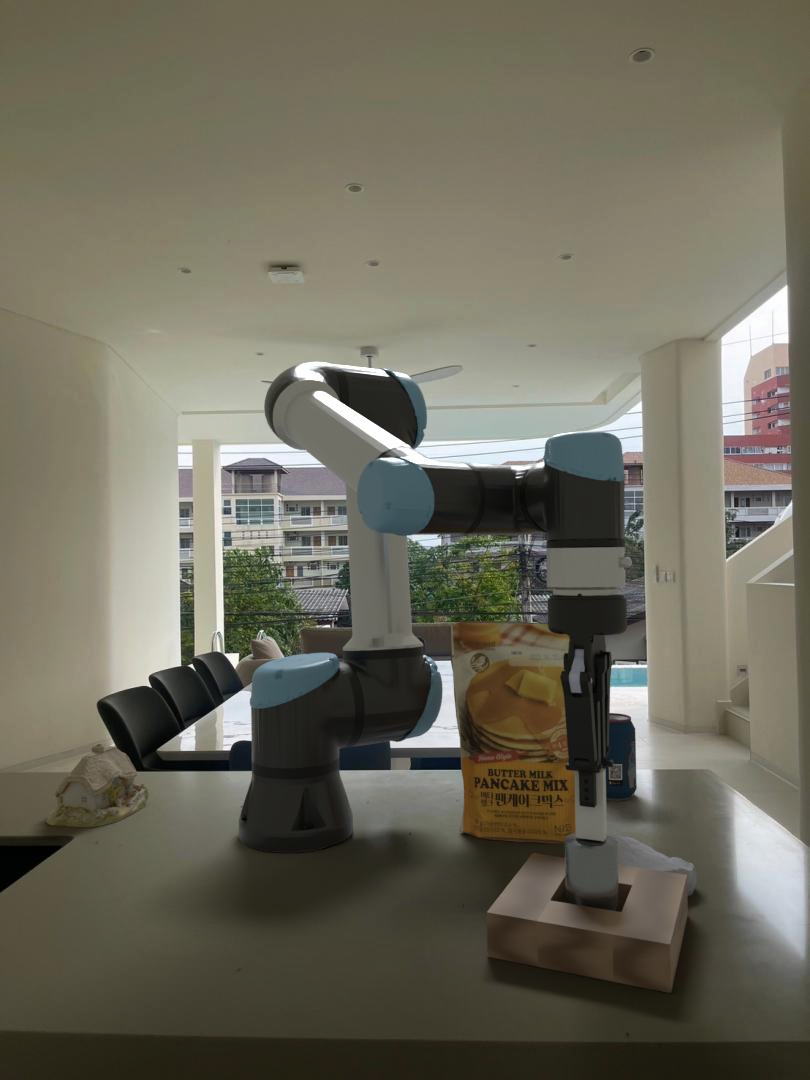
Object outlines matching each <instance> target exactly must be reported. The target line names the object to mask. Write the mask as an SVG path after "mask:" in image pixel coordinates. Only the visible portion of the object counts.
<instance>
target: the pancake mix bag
mask: <svg viewBox="0 0 810 1080" xmlns="http://www.w3.org/2000/svg"><path fill="white" fill-rule="evenodd" d="M447 628H448V634H449V635H448V636H449V651H450V664H451V670H452V677H453V678H452V679H453V680H452V681H453V695H454V707H455V716H456V717H455V718H456V723H457V730H458V736H459V748H460V770H461V774H462V775H461V776H462V780H463V781H462V782H463V808H462V809H463V812H462V818H461V824H460V827H459V832H461V833H465V834H468V835H472V836H474V837H475V838H476V839H477V838H478V839H484V840H494V841H496V840H497V841H506V842H507V841H508V842H518V843H519V842H522V843H523V842H524V843H538V844H552V845H553V844H556V845H558V844H559V845H561V844H562V845H565V837H566V836H568V835H570V834H573V833H576V827H575V775H574V771H573V770H566V766H565V765H566V764H567V763H568V760H569V756H568V743H567V730H566V717H565V703H564V693H563V688H562V683H561V679H560V675H561V672H562V671H565V670H564V653H568V648H569V641H570V639H569V636H568V635H567V634H556V633H553V632H551V631H550V630H549V628H548V622H532V621H531V622H530V621H521V620H520V621H518V620H516V621H515V620H467V621H457V622H455V623H454V624H452V625H450V626H448V627H447Z"/></svg>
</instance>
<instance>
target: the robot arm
mask: <svg viewBox="0 0 810 1080" xmlns="http://www.w3.org/2000/svg"><path fill="white" fill-rule="evenodd" d="M424 397H425V396H424V394H423V392H422V390H421V388H420V386H419V384H418V383H417V382H416V381H414V380H413V378H412V377H410V376H409V375H408V374H406V373H402V372H397V371H393V370H390V369H387V368H371V367H363V366H356V365H355V366H354V365H346V364H339V363H338V364H336V363H330V362H323V361H308V362H303V363H298V364H296V365H293V366H291V367H289V368H287V369H285V370H284V371H282V372H281V373H279V374H278V376H277V377H276V378H274V380H273V381H272V382H271V384H270V386H269V387H268V388H267V391H266V395H265V399H264V406H263V408H264V409H263V410H264V416H265V419H266V423H267V425H268V427H269V429H270V430H271V432H273V434H274V435H275V436H276V437H277V438H278V440H280V441H282V442H283V443H284V444H285V445H287V446H288V447H290V448H292V449H295V450H298V451H306V452H307V453H308V454H309V455H311V456H312V457H313V458H314V459H315V460H317V461H318V462H319V463H321V464H322V465H323V466H325V468H326V469H328V470H329V471H330V472H331V473H333V474H334V475H335V476H336V477H338V478H339V479H340V480H341V481H342V482H343V483H345V503H346V517H347V518H346V522H347V523H346V525H347V526H346V527H347V544H348V545H347V546H348V562H349V566H348V567H349V585H350V586H349V587H350V608H351V609H350V610H351V627H352V628H351V629H352V630H351V631H352V632H351V633H352V635H351V638H350V639H349V640H348V641H347V642H346V644H345V645H343V647H342V659H343V660H342V662H340V660H339V657H338V656H337V655H336V654H335V653H331V652H311V653H301V654H295V655H289V656H285V657H280V658H276V659H273V660H270V661H268V662H265V663H263V664H260V666H258V667H257V668H256V669H255V670H254V672H253V674H252V678H251V691H250V692H251V693H250V694H251V695H250V698H249V706H250V714H251V715H250V716H251V717H250V718H251V719H250V721H251V725H250V726H251V730H250V731H251V778H250V782H249V784H248V789H247V792H246V796H245V799H244V801H243V805H242V807H241V808H242V809H241V811H240V814H239V818H238V839H239V841H240V842H241V843H242V844H243V845H245V846H247V847H250V848H252V849H255V850H260V851H265V852H275V853H276V852H277V853H299V852H310V851H315V850H320V849H324V848H327V847H331V846H335V845H338V844H339V843H342V842H344V841H345V840H347V839H349V837H351V835H352V834H353V832H354V815H353V811H352V810H353V809H352V807H351V805H350V801H349V798H348V795H347V792H346V788H345V787H344V783H343V780H342V777H341V772H340V749H344V748H353V747H359V746H367V745H372V744H373V745H375V744H379V743H386V742H395V743H398V742H399V743H400V742H403V741H404V740H405V741H406V740H407V739H412V738H417V737H420V736H423V735H424V734H426V733H428V732H429V730H430V729H431V728H432V727H433V724H434V723H436V721H437V720H438V717H439V714H440V710H441V708H442V707H441V706H442V703H443V690H444V689H443V681H442V675H441V672H440V671H438V668H439V667H438V665H437V663H436V662H435V661H434V659H432V658H431V657H430V656H427V655H425V652H424V643H423V641H420V639H419V638H417V636H415V634H414V633H413V629H412V628H413V624H412V607H411V592H410V591H411V589H410V588H411V586H410V570H409V569H410V568H409V555H408V554H409V551H408V536H413V535H414V536H416V535H417V536H420V535H423V536H425V535H427V536H429V535H431V536H433V535H434V536H435V535H437V536H438V535H439V536H440V535H444V536H445V535H447V536H448V535H464V536H465V535H467V536H468V535H469V536H470V535H471V536H476V535H477V536H494V537H498V538H504V537H505V538H506V537H508V538H515V537H519V536H528V535H538V534H546V542H545V543H546V588H548V589H549V590H552V594H550V595H549V597H548V598H547V623H548V628H549V630H550V631H551V632H553V633H556V634H567V635H568V636H569V639H570V641H569V648H568V653H564V670H565V671H562V672H561V675H560V679H561V683H562V688H563V693H564V703H565V717H566V730H567V743H568V756H569V760H568V763H567V764H566V765H565V766H566V770H573V771H574V775H575V827H576V838H582V839H590V840H598V841H605V839H606V837H607V835H608V832H607V830H608V829H607V827H608V825H607V817H608V816H607V800H606V769H604V768H602V766H605V767H613V764H614V759H607V758H606V756H608V754H609V752H610V747H609V717H610V713H611V712H610V709H611V707H610V706H611V701H610V700H611V676H612V675H611V674H612V666H613V660H612V659H613V658H612V651H608V650H607V646H606V645H607V644H606V636H612V635H621V634H623V633H625V632H626V631H627V628H628V605H627V604H628V601H627V600H628V599H627V597H625V594H620V590H622V589H624V588H625V587H626V586H627V585H626V570H625V568H630V567H631V566H632V565H633V561H632V559H631V557H628V556H625V554H626V551H625V547H626V540H625V537H626V534H625V533H626V531H625V529H626V526H625V488H626V487H625V483H626V482H625V480H626V478H627V477H626V476H627V475H626V473H625V466H624V456H623V455H624V454H623V445H622V442H621V440H620V438H619V437H618V436H617V435H615V434H612V433H609V432H605V431H571V432H563V433H559V434H554V435H552V436H551V437H549V438H548V439H547V440H546V441H545V444H544V455H543V458H542V459H543V461H540V462H533V463H529V464H517V465H516V464H514V465H513V464H512V465H511V464H499V463H498V464H495V463H478V462H477V463H476V462H465V461H464V462H462V461H461V462H460V461H451V460H450V461H448V460H445V461H444V460H436V459H432V458H430V457H428V456H427V455H424V454H423V453H421V452H420V451H418V450H416V449H417V448H418V447H419V446H420V445H421V443H422V442H423V440H424V438H425V432H424V430H425V429H427V423H428V411H427V405H426V399H425V398H424Z"/></svg>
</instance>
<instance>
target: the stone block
mask: <svg viewBox="0 0 810 1080" xmlns="http://www.w3.org/2000/svg"><path fill="white" fill-rule="evenodd" d="M607 835H608V836H611V837H613V838H615V839H616V840H617V842H618V865H621V866H628V867H635V868H642V869H649V870H656V871H664V872H671V873H678V874H685V875H687V897H689V896H692V895H693V894H694V890H695V888H696V886H697V882H698V877H697V872H696V867H695V866H694V864H693V863H692V862H689V861H686V860H684V859H682V858H680V857H677V856H672V857H670V856H667V855H666V854H664V853H661V852H658V851H656V850H655V849H653V848H652V847H651V846H649V845H647V844H645V843H643V842H640V840H637V839H636V838H632V837H630V836H627V835H614V834H607Z"/></svg>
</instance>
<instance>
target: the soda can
mask: <svg viewBox="0 0 810 1080" xmlns="http://www.w3.org/2000/svg"><path fill="white" fill-rule="evenodd" d="M636 745H637V743H636V727H635V726H634V723H633V721H632V717H631V716H630V715H628V714H625V713H624V714H623V713H615V712H610V717H609V747H610V752H609V754H608V756H606V758H607V759H614V764H613V767H605V766H602V768H604V769H606V801H613V802H614V801H615V802H616V801H617V802H619V801H627V800H630V799H632V798H633V796H634V795H635V792H636V791H637V788H638V787H637V752H636V751H637V749H636V747H637V746H636Z"/></svg>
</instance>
